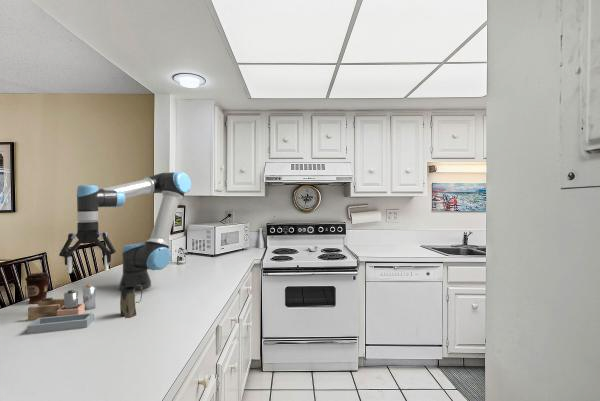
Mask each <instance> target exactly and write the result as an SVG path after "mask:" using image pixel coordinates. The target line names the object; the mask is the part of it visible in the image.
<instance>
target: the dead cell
mask: <svg viewBox="0 0 600 401" xmlns="http://www.w3.org/2000/svg"><path fill="white" fill-rule="evenodd" d="M63 299H64V310H67V309H77V308H78V304H79V291H78V290H75V289H69V290H67V291H66V292H64V293H63Z"/></svg>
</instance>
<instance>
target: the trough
mask: <svg viewBox="0 0 600 401" xmlns="http://www.w3.org/2000/svg"><path fill="white" fill-rule="evenodd" d="M94 321H95V312H87V313H86V312H85V314H75V315H65V316H54V317H44V318H38V319H36V320H34V321H31V323H29V324H28V325H27V326H26V328H27V329H26V330H27V335H31V334H32V335H33V334H41V333H49V332H58V331H67V330H77V329H78V330H79V329H87V328H88V327H89V326H90V325H91V324H92V323H93V322H94Z"/></svg>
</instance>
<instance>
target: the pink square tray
mask: <svg viewBox="0 0 600 401" xmlns="http://www.w3.org/2000/svg"><path fill="white" fill-rule="evenodd" d="M85 313H86V310H85V303H83V302H82V303H78V308H77V309H67V310H64V306H63V307H61V308H60V309H59V310H57V316H65V315H75V314H85Z"/></svg>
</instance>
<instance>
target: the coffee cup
mask: <svg viewBox="0 0 600 401" xmlns="http://www.w3.org/2000/svg"><path fill="white" fill-rule="evenodd" d="M49 279H50V275H49V274H48V272H36V273H29V274H27V276H26V278H25V279H24V280H25V281H26V285H25V287H26V291H27V297H28V299H29V300H28V304H30V305H31V304H33V305H34V304H38V301H40V300H42V299H44V298H47V294H48V287H49V286H48V285H49V284H48V283H49Z"/></svg>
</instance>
